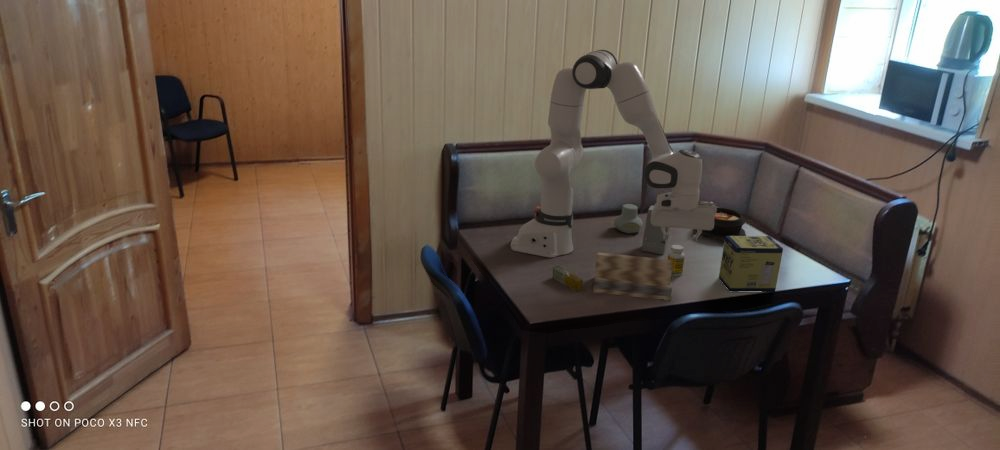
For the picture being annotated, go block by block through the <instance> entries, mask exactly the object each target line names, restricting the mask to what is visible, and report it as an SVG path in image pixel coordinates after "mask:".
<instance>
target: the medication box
mask: <svg viewBox="0 0 1000 450" xmlns="http://www.w3.org/2000/svg"><path fill="white" fill-rule="evenodd" d="M552 279H554V280H556V281H557V282H559V283H561V284H563V285H564V286H566V287H568V288H569V289H571V290H573V291H575V292H579V291H582V290H583V283H584V279H583V278H582V277H579V276H578V275H576V274H574V273H572V272H570V271H568V270H567V269H564V268H563V267H562V266H559V265H557V266H554V267H552Z"/></svg>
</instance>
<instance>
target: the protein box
mask: <svg viewBox="0 0 1000 450" xmlns="http://www.w3.org/2000/svg"><path fill="white" fill-rule="evenodd" d="M783 251H784V248H783V247H782V246H781V245H780V244H779V243H778V242H776V241H775V239H774V238H772V237H771V236H769V235H746V236H725V241H723V249H722V253H721V254H722V255H721V262H720V267H719V272H718V273H719V274H718V280H719V281H720V280H721V281H722V282H723V283H722V282H721V281H720V282H721V283H722V285H723V286H724V285H725V286H726V287H727V288H728V289H727V288H726V287H725V286H724V287H725V288H726V289H727V291H728V290H729V291H762V292H761V293H776V289H777V283H778V277H779V273H780V266H781V262H782V255H783ZM729 291H728V292H729Z"/></svg>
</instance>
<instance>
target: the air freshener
mask: <svg viewBox="0 0 1000 450" xmlns="http://www.w3.org/2000/svg"><path fill="white" fill-rule="evenodd" d="M638 210H639V206H638V205H635V204H632V203H625V204H623V205H622V206H621V214H620V215H618V216H616V217H615V218H614V221H613V225H614V227H615V228H616V230H618V231H620V232H621V233H625V234H627V235H628V234H629V235H630V234H635V233H637V232H639V231H641V229H643V225H644V223H643V220H642V219H641V218H640V216H638V212H639V211H638Z"/></svg>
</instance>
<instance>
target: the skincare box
mask: <svg viewBox="0 0 1000 450" xmlns="http://www.w3.org/2000/svg"><path fill="white" fill-rule="evenodd" d="M653 207H654V204H652V205H650V206H649V208H648V209H647V215H646V219H645V226H644V227H645V228H644V232H643V239H642V242H641V243H642V244H641V251H642V252H647V253H652V254H659V255H665V252H666V251H667V246H668V241H669V237H670V236H669V235H670V229H671V227H666V228H665V232H666V233H668V239H663V232H662V230H661V226H653V225H652V224H651V214H652V210H653Z"/></svg>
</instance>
